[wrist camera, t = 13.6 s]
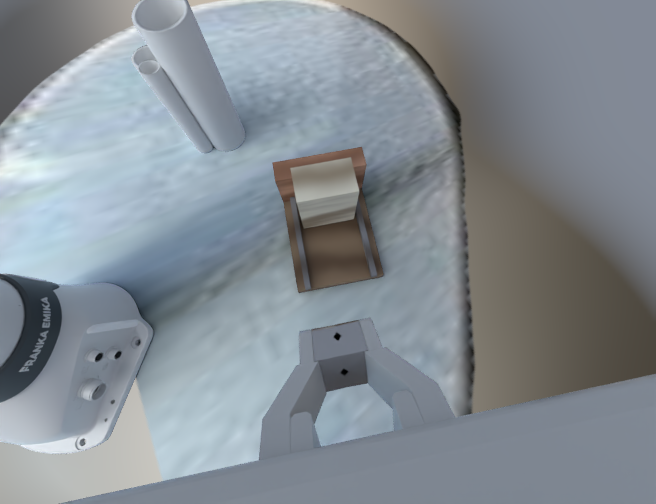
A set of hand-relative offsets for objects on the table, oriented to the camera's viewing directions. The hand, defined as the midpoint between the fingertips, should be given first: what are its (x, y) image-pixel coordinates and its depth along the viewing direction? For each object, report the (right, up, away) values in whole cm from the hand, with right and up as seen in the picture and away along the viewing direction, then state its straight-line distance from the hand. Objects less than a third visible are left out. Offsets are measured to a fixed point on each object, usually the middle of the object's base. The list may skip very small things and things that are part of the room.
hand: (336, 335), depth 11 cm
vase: (-21, +25, +38) cm, 50 cm away
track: (0, +7, +32) cm, 33 cm away
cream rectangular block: (-1, +10, +32) cm, 33 cm away
